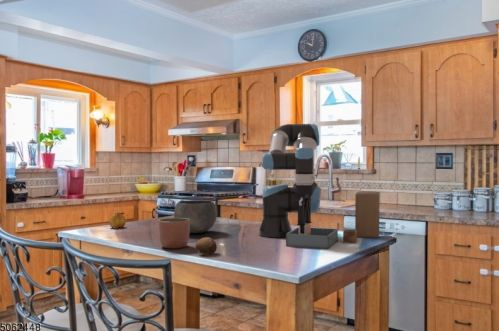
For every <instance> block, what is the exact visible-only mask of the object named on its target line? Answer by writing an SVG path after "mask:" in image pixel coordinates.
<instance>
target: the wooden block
mask: <svg viewBox="0 0 499 331" xmlns="http://www.w3.org/2000/svg"><path fill="white" fill-rule="evenodd" d="M354 196H355V199H354V200H355V201H354V202H355V203H354V204H355V205H354V207H355V209H354V210H355V211H354V213H355V214H354V216H355V217H354V218H355V221H354V223H355V225H354V226H355V228H354V230H357V238H365V239H367V238H369V239H370V238H371V239H378V238H379V235H380V192H378V191H359V190H358V191H357V192H356V193H355V194H354Z"/></svg>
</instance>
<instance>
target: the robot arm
mask: <svg viewBox="0 0 499 331" xmlns="http://www.w3.org/2000/svg"><path fill="white" fill-rule="evenodd" d="M269 142H270V144H269V145H270V146H269V151H268V152H264V153H263V154H262V168H263V170H265V171H266V170H269V171H273V170H275V171H281V170H285V171H286V170H288V171H291V170H292V171H293V170H294V171H295V173H294V174H295V175H294V178H295V180H294V183H293V185H292V186H289V185H288V183H285V184H284V183H282V184H274V185H267V186H264V188H263V190H262V197H261V198H262V220H261V223H260V226H259V229H258V235H259V236H260V237H265V238H286V233H288V232H290V231H292V230H293V229H292V226H291V224H290V221H289V213H297V224H296V225H297V226H298V227H299V234H303V235H306V225H305V224H312V218H311V214H312V213H317V212H318V211H319V209H320V206H321V205H320V204H321V196H322V188H321V187H320V186H319V185H318V183H317V182H316V181H315V150H316V149H317V147H318V146H319V145H320V132H319V126H318V125H317V124H315V123H287V124H283V125H280V126H278V127H277V128H275V129H274V130H273V131H272V132H271V134H270V137H269ZM287 147H294V150H295V152H286V148H287Z"/></svg>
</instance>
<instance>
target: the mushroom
mask: <svg viewBox="0 0 499 331" xmlns="http://www.w3.org/2000/svg"><path fill="white" fill-rule="evenodd" d="M217 248H218V247H217V243H216V241H215V240H214V239H213V238H211V237H207V236H206V237H202V238H200V239H199V240H197V242H195V249H196V251H197V252H198V253H199V254H202V255H205V256H209V255H213V254H215V253H216V251H217Z"/></svg>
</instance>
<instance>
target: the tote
mask: <svg viewBox="0 0 499 331" xmlns="http://www.w3.org/2000/svg"><path fill="white" fill-rule="evenodd" d="M338 231H339V229H338V228H326V227H322V228H321V227H311V235H303V234H299V226H298V227H296V228H294V229H292V231H290V232H288V233H286V237H285V246H286V247H291V248H292V247H296V248H309V249H322V250H323V249H324V250H330V248H331V247H333V246H334V245H335V244H336V243H337V242H338V240H339V233H338Z"/></svg>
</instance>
